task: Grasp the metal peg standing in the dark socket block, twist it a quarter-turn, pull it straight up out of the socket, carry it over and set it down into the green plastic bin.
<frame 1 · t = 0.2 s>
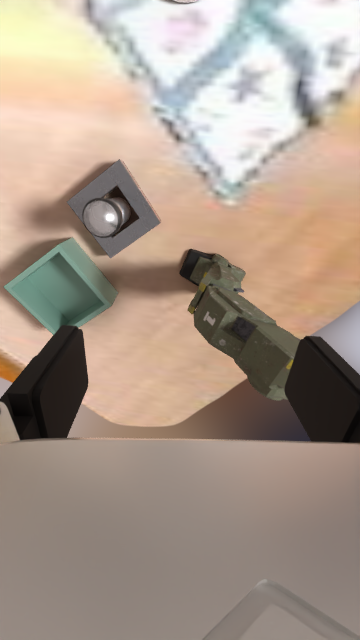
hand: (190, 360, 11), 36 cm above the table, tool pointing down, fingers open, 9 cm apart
socket block: (118, 211, 42), on the table
mechanical leg: (215, 273, 47), on the table
bin: (71, 284, 47), on the table
metal peg: (110, 214, 36), in the socket block
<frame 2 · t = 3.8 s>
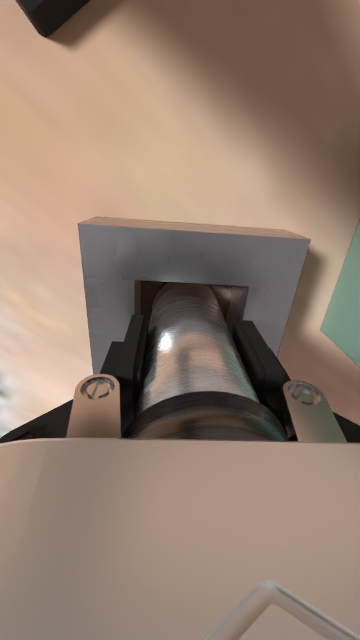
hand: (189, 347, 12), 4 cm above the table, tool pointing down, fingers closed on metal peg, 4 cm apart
socket block: (184, 309, 16), on the table
metal peg: (192, 369, 11), in the socket block, touching gripper
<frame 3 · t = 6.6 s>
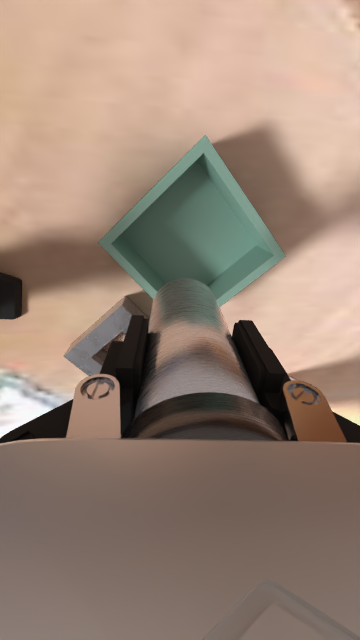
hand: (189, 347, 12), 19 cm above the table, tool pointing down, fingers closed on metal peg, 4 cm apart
socket block: (126, 345, 34), on the table
bin: (189, 239, 28), on the table
metal peg: (191, 370, 11), point 21 cm above the table, touching gripper
when the fingers open (7 cm above the table, at t = 9.6 s): metal peg drops 2 cm, resting on bin.
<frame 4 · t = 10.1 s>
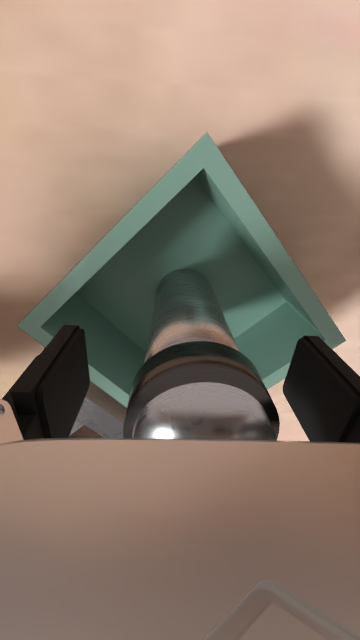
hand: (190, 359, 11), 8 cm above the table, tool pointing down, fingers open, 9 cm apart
socket block: (97, 427, 24), on the table
bin: (182, 292, 19), on the table
metal peg: (189, 341, 12), in the bin, point 7 cm above the table
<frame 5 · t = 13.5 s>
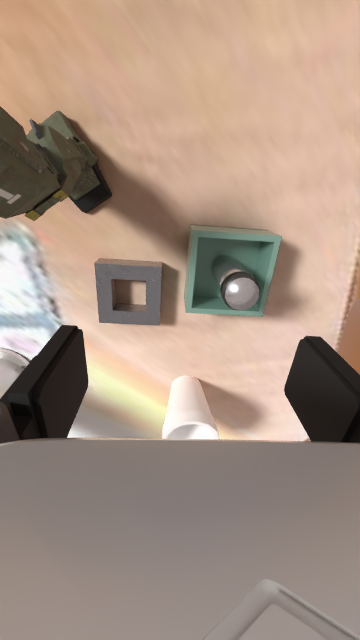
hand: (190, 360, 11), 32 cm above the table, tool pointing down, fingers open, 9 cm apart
socket block: (131, 289, 44), on the table
foam cup: (186, 386, 54), on the table
mechanical leg: (70, 161, 35), on the table
bin: (223, 265, 42), on the table
metal peg: (231, 279, 36), in the bin, point 7 cm above the table
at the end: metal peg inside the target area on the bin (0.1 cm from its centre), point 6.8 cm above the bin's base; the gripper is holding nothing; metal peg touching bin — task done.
